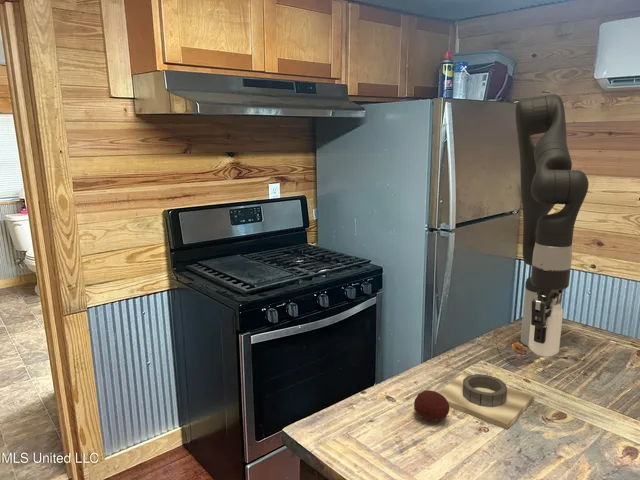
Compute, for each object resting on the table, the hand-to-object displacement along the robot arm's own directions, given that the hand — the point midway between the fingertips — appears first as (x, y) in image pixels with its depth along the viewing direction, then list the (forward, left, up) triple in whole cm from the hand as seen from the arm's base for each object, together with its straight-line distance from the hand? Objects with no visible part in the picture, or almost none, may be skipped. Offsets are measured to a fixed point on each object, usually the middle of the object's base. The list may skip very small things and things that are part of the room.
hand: (544, 337), depth 109 cm
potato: (+17, -18, -19) cm, 31 cm away
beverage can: (0, 0, -4) cm, 4 cm away
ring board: (+2, -12, -19) cm, 23 cm away
